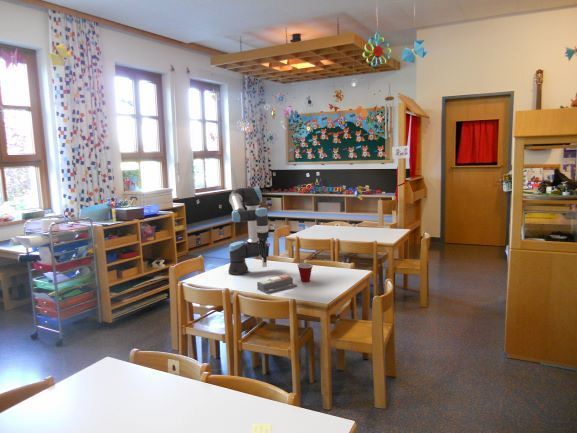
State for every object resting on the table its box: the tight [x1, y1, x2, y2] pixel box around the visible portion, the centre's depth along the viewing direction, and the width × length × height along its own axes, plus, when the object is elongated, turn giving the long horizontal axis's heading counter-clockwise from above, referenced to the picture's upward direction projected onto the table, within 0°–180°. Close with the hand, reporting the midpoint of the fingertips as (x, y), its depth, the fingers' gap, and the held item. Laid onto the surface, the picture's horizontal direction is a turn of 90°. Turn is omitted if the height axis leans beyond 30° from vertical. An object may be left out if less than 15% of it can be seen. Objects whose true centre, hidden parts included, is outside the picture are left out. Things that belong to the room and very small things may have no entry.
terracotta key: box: [277, 273, 291, 280], centre depth 298 cm, size 6×6×3 cm
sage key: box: [258, 279, 272, 284], centre depth 290 cm, size 6×6×3 cm
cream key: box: [268, 276, 281, 282], centre depth 294 cm, size 6×6×3 cm
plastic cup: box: [297, 262, 314, 283], centre depth 304 cm, size 11×11×12 cm
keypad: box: [256, 276, 298, 295], centre depth 292 cm, size 13×23×5 cm, turn 123°
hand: (264, 266), depth 289 cm, fingers closed
